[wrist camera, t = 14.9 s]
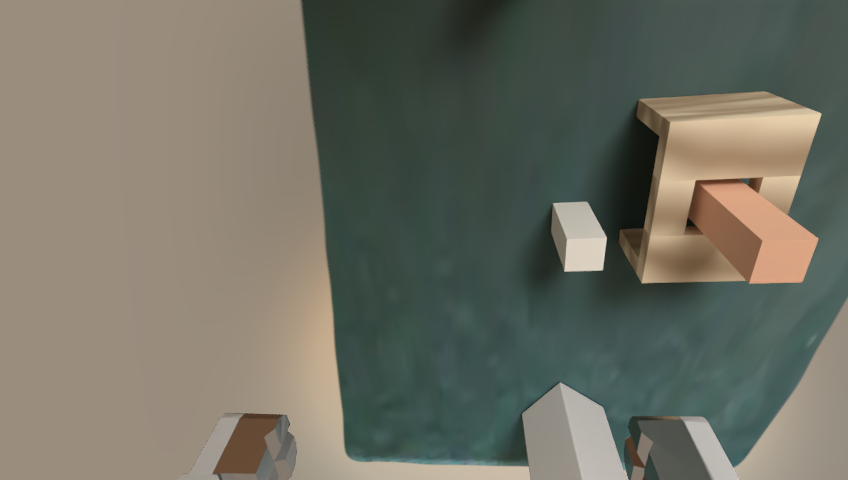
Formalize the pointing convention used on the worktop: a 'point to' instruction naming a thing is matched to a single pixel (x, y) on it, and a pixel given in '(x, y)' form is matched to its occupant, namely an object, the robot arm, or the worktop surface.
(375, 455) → the worktop surface
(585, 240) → the short block
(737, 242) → the long pin
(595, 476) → the milk carton
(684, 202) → the tan block with hole
